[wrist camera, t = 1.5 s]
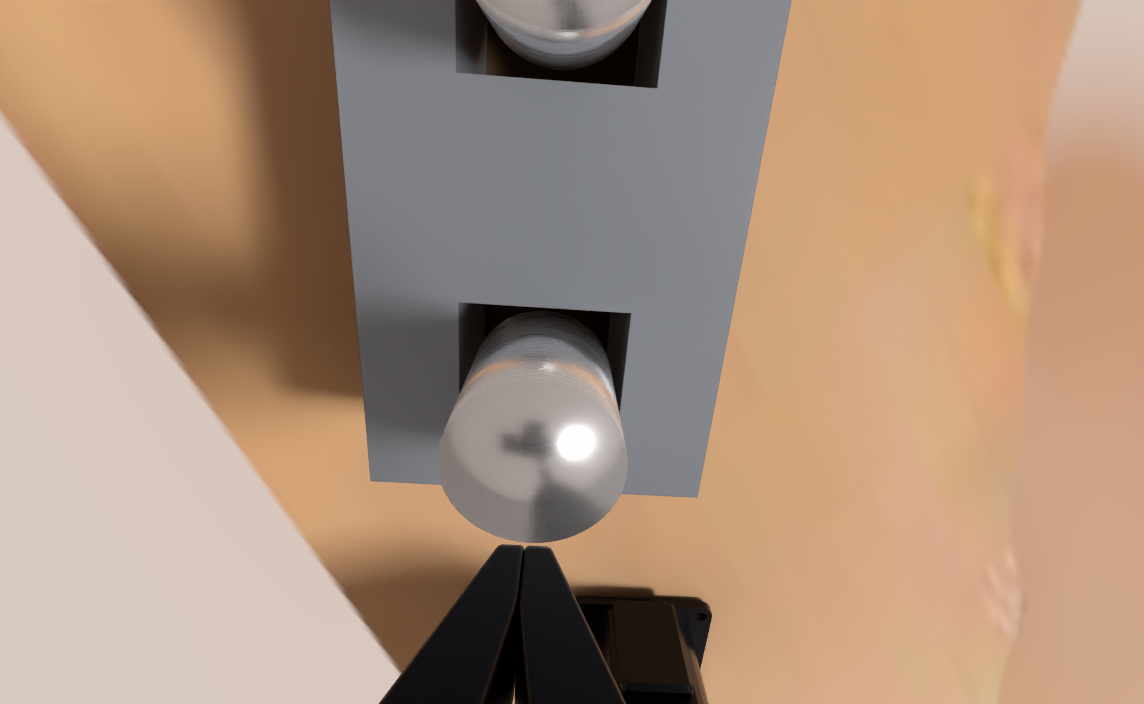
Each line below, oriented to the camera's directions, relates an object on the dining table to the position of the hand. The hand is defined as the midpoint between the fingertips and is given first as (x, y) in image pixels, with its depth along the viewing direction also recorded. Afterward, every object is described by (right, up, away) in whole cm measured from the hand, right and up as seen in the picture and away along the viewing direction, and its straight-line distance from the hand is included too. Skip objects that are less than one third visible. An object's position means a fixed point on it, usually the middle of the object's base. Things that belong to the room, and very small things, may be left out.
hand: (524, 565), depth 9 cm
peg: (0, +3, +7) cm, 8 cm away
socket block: (0, +9, +9) cm, 13 cm away
